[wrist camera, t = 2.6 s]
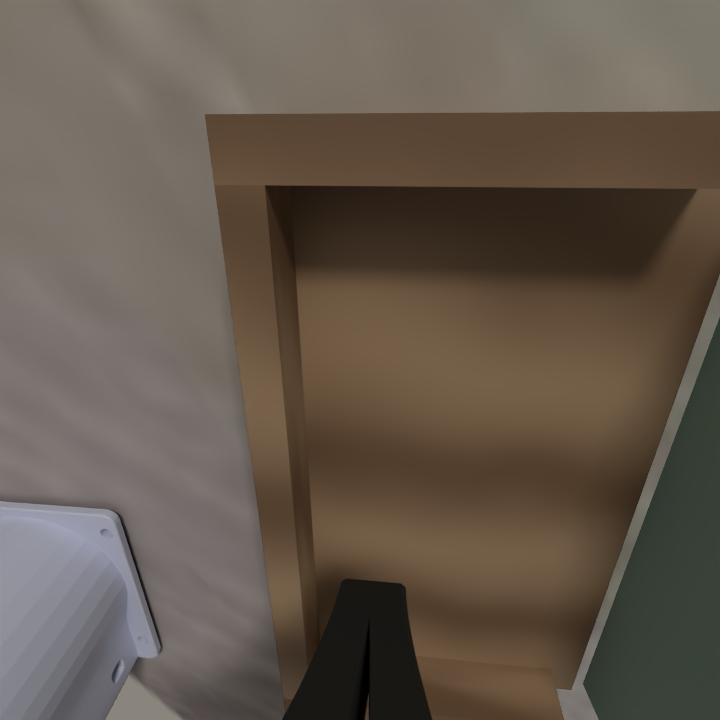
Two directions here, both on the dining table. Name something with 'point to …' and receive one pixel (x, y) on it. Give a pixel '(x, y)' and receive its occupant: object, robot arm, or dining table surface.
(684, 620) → the panel
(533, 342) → the tray
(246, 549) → the dining table surface
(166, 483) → the dining table surface
